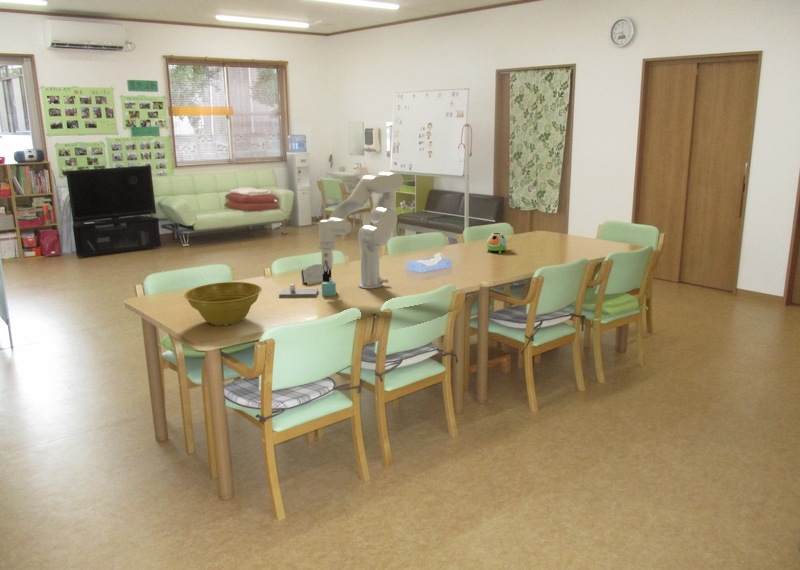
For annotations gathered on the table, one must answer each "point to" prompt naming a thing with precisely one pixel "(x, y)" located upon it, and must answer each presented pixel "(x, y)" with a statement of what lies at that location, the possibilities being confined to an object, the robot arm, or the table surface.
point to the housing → (329, 288)
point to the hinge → (312, 274)
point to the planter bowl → (223, 301)
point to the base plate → (298, 292)
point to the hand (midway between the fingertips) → (327, 279)
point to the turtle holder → (496, 242)
